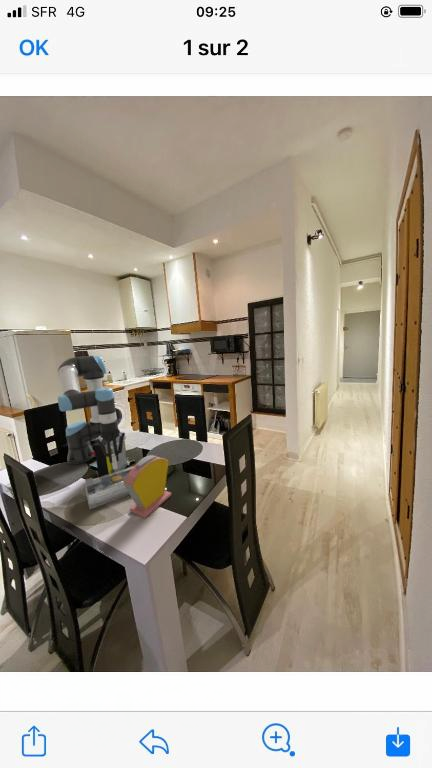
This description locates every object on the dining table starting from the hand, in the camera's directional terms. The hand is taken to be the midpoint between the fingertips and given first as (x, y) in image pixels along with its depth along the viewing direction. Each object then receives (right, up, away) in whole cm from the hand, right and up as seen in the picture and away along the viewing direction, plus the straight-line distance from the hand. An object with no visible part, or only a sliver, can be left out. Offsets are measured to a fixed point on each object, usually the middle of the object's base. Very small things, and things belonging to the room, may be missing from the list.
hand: (115, 467), depth 119 cm
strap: (+2, -7, +2) cm, 7 cm away
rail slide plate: (0, -12, +2) cm, 12 cm away
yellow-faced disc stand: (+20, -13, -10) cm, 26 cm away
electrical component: (-8, -9, +20) cm, 23 cm away
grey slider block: (-8, -9, -4) cm, 13 cm away
